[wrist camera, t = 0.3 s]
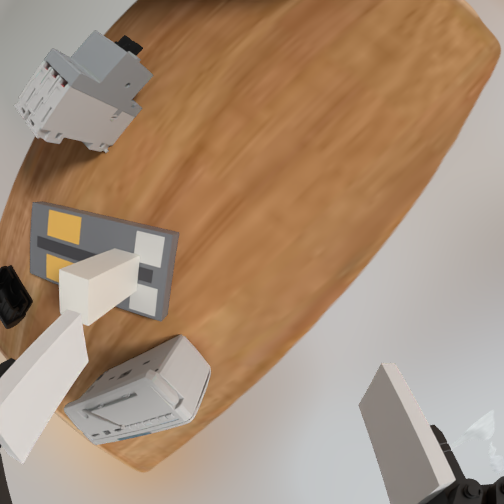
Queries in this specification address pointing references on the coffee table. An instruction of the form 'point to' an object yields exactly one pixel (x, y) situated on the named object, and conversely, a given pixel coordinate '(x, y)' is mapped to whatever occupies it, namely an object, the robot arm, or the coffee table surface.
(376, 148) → the coffee table surface
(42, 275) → the grey flat board
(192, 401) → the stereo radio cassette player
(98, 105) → the circuit breaker
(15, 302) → the end cap
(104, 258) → the slider tab
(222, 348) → the coffee table surface
